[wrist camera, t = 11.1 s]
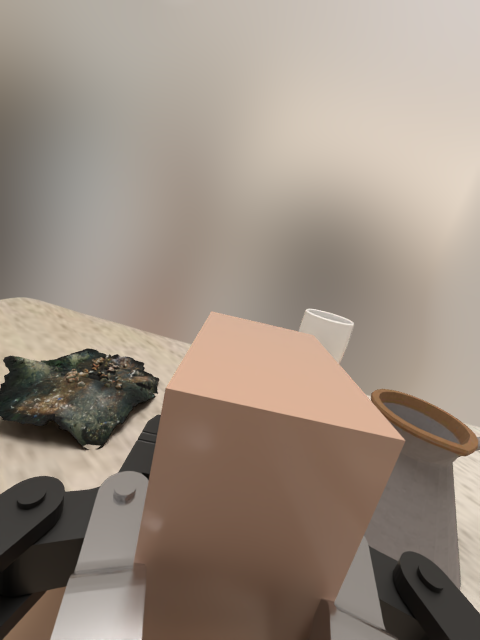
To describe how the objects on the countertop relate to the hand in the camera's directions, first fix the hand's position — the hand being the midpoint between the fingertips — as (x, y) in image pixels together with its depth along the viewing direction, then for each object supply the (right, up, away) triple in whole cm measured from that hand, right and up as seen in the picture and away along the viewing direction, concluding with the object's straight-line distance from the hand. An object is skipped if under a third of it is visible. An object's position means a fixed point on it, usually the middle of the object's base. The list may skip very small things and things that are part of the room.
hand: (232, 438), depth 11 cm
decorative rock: (-18, -4, +22) cm, 29 cm away
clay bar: (-2, -7, -1) cm, 8 cm away
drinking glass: (+9, -9, +29) cm, 32 cm away
